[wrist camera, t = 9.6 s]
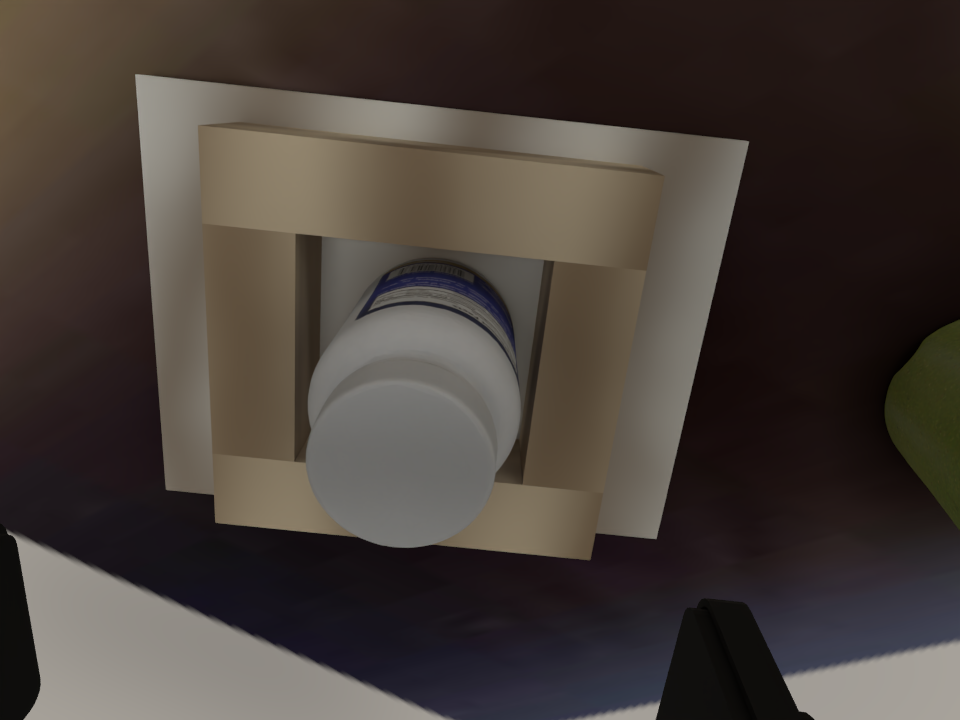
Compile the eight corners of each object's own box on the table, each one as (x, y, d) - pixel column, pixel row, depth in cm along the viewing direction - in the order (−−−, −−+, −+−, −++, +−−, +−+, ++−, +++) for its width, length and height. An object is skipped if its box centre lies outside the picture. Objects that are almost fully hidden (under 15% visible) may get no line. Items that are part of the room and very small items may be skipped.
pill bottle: (446, 435, 24) (420, 615, 15) (323, 343, 22) (221, 485, 14) (548, 323, 22) (579, 457, 14) (421, 219, 21) (371, 296, 13)
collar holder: (737, 139, 21) (790, 148, 17) (650, 523, 26) (676, 594, 22) (151, 75, 21) (74, 69, 17) (177, 475, 26) (123, 539, 22)
